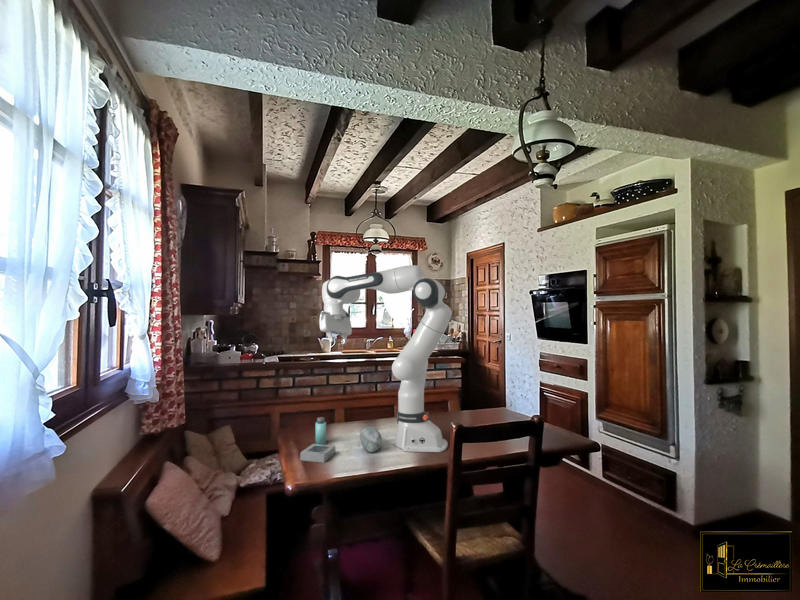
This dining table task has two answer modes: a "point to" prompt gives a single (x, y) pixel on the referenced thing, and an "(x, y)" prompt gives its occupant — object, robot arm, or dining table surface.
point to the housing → (317, 453)
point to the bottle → (320, 431)
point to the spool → (371, 439)
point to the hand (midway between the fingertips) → (338, 343)
